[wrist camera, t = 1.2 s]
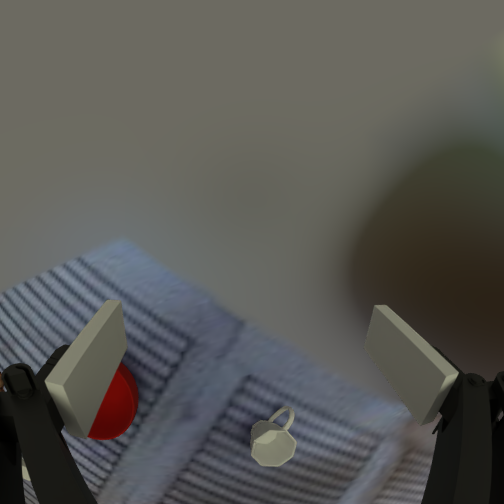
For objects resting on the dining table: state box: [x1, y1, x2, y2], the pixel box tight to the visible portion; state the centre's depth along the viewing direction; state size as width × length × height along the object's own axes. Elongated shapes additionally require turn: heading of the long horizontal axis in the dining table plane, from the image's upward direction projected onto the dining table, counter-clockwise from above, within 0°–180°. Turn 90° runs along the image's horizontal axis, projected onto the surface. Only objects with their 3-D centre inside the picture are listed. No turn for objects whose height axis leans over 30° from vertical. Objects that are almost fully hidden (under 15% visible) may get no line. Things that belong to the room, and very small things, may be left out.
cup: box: [250, 406, 297, 467], centre depth 39 cm, size 7×10×8 cm
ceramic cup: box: [87, 362, 139, 440], centre depth 35 cm, size 13×17×10 cm
